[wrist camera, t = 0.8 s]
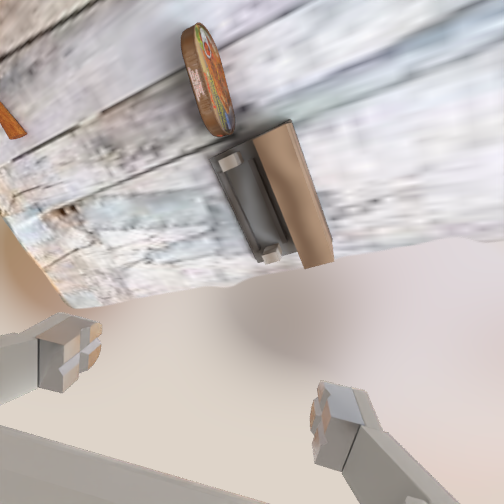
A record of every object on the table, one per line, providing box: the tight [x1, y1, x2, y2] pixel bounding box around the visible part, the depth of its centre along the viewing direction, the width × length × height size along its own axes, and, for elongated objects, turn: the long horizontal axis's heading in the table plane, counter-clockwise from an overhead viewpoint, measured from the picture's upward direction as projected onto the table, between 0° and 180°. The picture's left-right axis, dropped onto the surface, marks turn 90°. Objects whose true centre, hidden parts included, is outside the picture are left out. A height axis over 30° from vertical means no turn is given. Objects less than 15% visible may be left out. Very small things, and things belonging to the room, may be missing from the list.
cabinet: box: [209, 120, 334, 269], centre depth 47 cm, size 16×23×10 cm
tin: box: [181, 23, 235, 137], centre depth 41 cm, size 15×3×8 cm, turn 14°
